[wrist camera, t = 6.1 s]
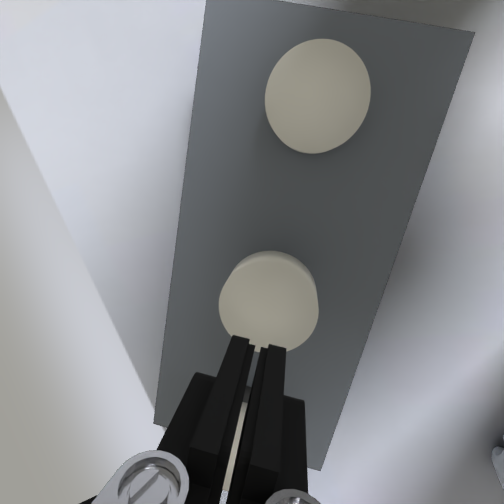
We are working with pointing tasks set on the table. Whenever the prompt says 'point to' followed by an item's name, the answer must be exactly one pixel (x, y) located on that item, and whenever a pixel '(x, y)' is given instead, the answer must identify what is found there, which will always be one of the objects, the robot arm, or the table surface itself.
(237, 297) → the knob middle
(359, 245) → the control panel
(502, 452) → the bottle
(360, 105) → the knob
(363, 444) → the table surface
